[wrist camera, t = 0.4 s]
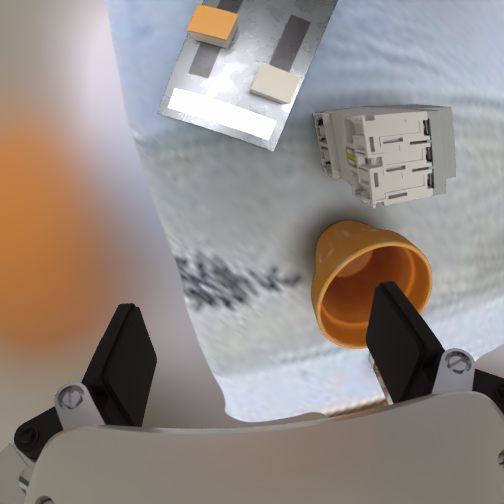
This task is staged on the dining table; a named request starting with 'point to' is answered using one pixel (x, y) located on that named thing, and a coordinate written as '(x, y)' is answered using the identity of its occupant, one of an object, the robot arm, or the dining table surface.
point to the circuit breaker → (389, 150)
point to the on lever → (275, 84)
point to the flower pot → (362, 277)
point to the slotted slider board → (246, 68)
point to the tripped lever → (213, 26)
